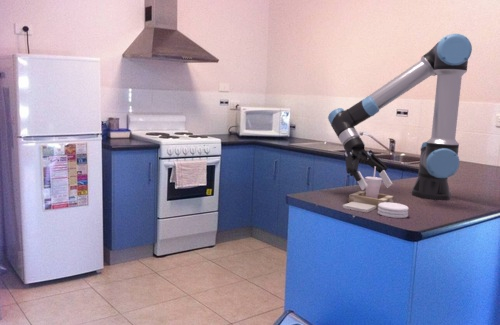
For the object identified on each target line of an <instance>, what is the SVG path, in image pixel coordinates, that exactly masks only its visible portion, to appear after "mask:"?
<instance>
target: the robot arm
mask: <svg viewBox="0 0 500 325" xmlns="http://www.w3.org/2000/svg"><path fill="white" fill-rule="evenodd" d="M472 51H473V46H472V42H471V41H470V39H469V38H468V37H467V36H466V35H463V34H460V33H451V34H447V35H445V36H443V37H442V38H441V39H440V40H439V41H438V42H437V43H436V44H435V45H434V46H433V47H432V48H431V49H430V50H429V51H427V52H426V53H425V54H423V55H422V56H421V57H420V60H419V61H418V62H416V63H414V64H413V65H411V66H410V67H409V68H407V69H406V70H404V71H402V72H401V73H400V74H399V75H397V76H396V77H394V78H393V79H391V80H390V81H388V82H387V83H386V84H383V85H382V86H381V87H380V88H378V89H376V90H375V91H373V92H372V93H370V94H369V95H367V96H366V97H364V98H363V99H362V100H360V101H359V102H357V103H355V104H353V105H352V106H351V107H349V108H347V109H344V108H342V107H339V108H335V109H333V110H331V111H330V112H329V114H328V117H327V119H328V121H329V124H330V126H331V128H332V130H333V131H334V133H335V135H336V136H337V138H338V140H339V141H340V143H341V145H342V147H343V148H344V153H343V156H344V158H345V170H346V173H347V174H349V176H351V177H353V178H354V179H355V181H356V182H357V184H358V185H359V187H360V189H361V190H362V191H365V190H366V187H367V186H368V185H367V183H366V180H365V177H364V176H363V175H362V173H361V171H360V170H358V169H359V164H360V163H361V164H363V163H364V164H365V165H368V166H370V167H371V168H372V169H374V166H376V172H378V175H379V178H382V182H383V184H384V186H385V187H386V188H387V189H388V188H390V187H391V186H393V182H392V180H391V179H390V177H389V175H388V172H387V170H388V169H389V168H388V166H387V165H386V164H385V163H384V162H383V161H382V160H381V159H380V158H378V156H377V155H376V154H375V153H374V152H373V151H372V150H371V149H370V150H368V151H367V150H366V148H365V142H364V141H363V139H362V138H361V136H360V134H359V133H358V131H357V129H356V128H355V127H356V126H358V125H359V124H361V123H363V122H364V121H366V120H368V119H369V118H371V117H374V116H375V115H376V114H378V113H379V112H380V110H381V109H383V108H384V107H386V106H388V104H390V103H392V102H393V101H395V100H396V99H398V98H399V97H401V96H403V95H404V94H405V93H408V92H409V91H410V90H411V89H413V88H414V87H416V86H417V85H420V83H422V82H423V81H425V80H427V79H428V78H430V77H432V76H433V77H436V76H437V78H436V87H435V97H434V106H433V117H432V125H431V127H432V128H431V135H430V136H431V137H430V138H429V139H428V140H427V141H424V142H422V144H421V147H420V156H419V157H420V158H419V163H418V164H419V166H418V174H417V178H416V181H415V183H414V185H413V187H412V189H411V190H412V191H411V195H412V196H413V197H416V198H418V199H425V200H430V201H431V200H433V201H449V200H451V192H450V187H449V180H448V178H451V177H452V176H454V175H455V174H456V172H458V170H459V168H460V157H459V147H460V146H459V145H460V143H459V142H458V141H457V140H456V134H457V126H458V115H459V106H460V98H461V97H460V96H461V88H462V87H461V86H462V80H463V79H462V78H463V76H464V74H466V73H467V71H468V63H469V59H470V58H471V55H472V53H473V52H472Z"/></svg>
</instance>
